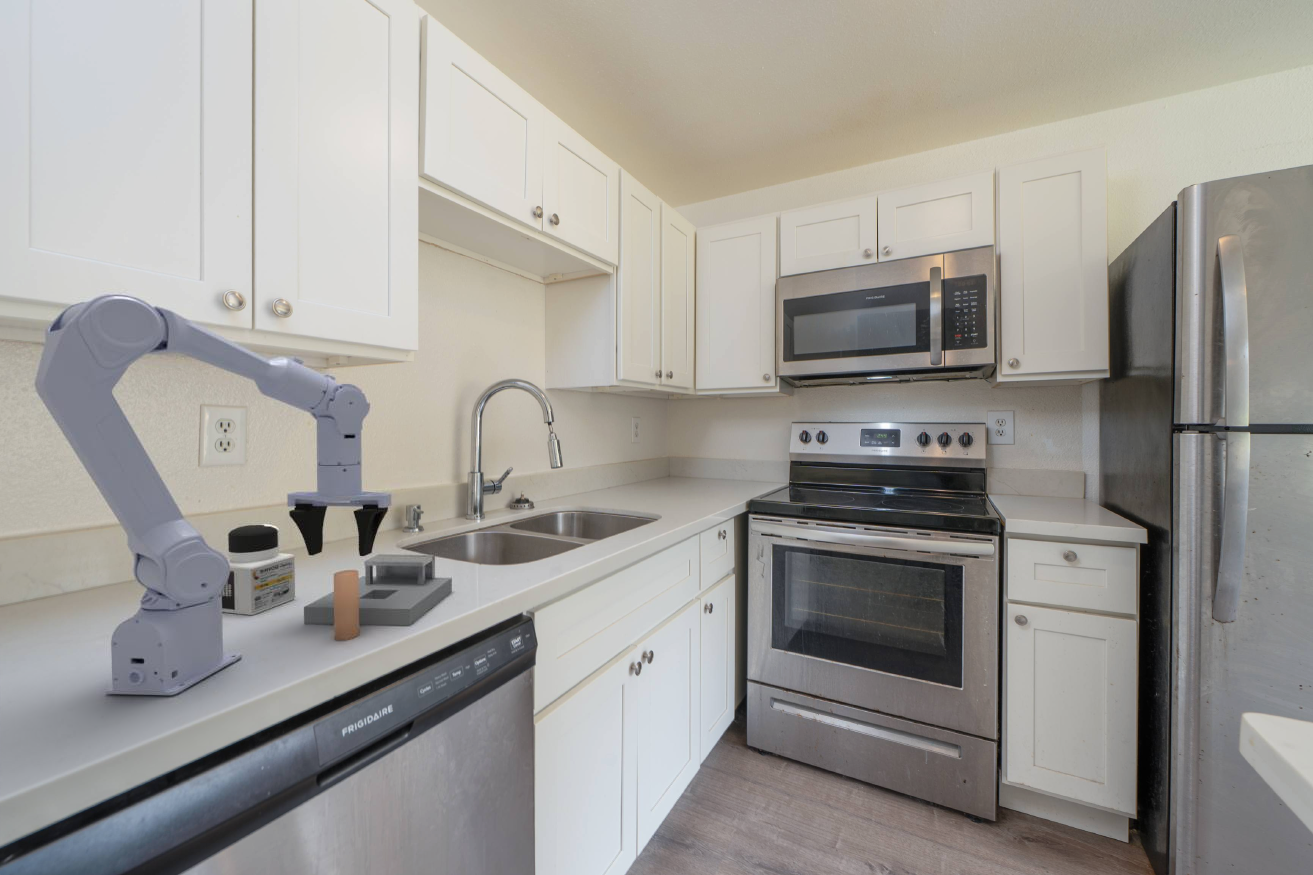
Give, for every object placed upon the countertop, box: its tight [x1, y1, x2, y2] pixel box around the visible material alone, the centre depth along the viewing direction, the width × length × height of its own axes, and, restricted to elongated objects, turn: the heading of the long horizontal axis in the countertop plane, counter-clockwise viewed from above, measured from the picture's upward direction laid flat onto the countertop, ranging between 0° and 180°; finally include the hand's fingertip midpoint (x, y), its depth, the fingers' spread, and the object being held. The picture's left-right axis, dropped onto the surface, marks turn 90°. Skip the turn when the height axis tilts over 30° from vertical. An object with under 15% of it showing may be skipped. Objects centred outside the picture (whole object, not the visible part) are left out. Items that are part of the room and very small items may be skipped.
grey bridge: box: [363, 553, 436, 586], centre depth 90 cm, size 4×10×4 cm, turn 89°
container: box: [222, 523, 296, 616], centre depth 85 cm, size 8×8×13 cm
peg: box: [333, 569, 360, 642], centre depth 73 cm, size 3×3×9 cm
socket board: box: [303, 575, 453, 626], centre depth 85 cm, size 15×16×2 cm
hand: (340, 554), depth 78 cm, fingers open, 7 cm apart
